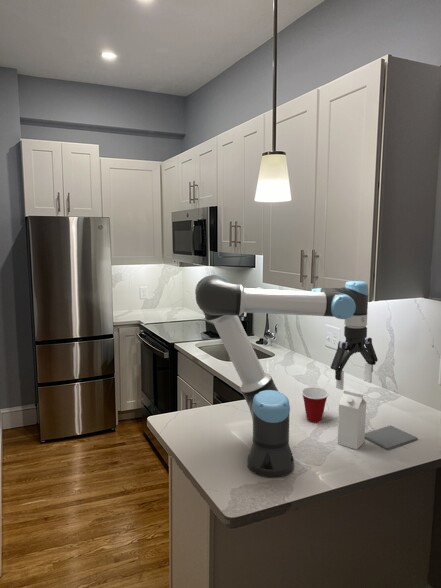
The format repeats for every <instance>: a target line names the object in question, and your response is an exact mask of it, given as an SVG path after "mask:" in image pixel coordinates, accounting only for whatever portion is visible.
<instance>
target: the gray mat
mask: <svg viewBox="0 0 441 588" xmlns="http://www.w3.org/2000/svg"><path fill="white" fill-rule="evenodd" d="M418 438H419V437H417V436H415V435H413V434H410V433H408V432H406V431H404V430H402V429H400V428H398V427H395V426H393V425H391V424H390V425H388V426H384V427H381V428H378V429H375V430H371V431H368V432H365V440H367V441H369V442H371V443H373V444H374V445H375V446H378V447H380V448H382V449H384V450H386V451H389V450H392V449H395V448H398V447H400V446H403V445H407V444H409V443H411V442H415V441H417V440H418Z"/></svg>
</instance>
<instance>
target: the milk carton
mask: <svg viewBox="0 0 441 588" xmlns="http://www.w3.org/2000/svg"><path fill="white" fill-rule="evenodd" d="M342 391H343V392H342V396H341V398H340V401H339V403H338V424H337V444H338V445H341V446H344V447H346V448H347V447H348V448H350V449H354V450H358V449H359V448H360V447H361V446H362V445H363V444H364V443H365V440H366V439H365V433H366V414H367V412H366V411H367V402H366V400H365V399H364V395H363V394H361V393H356V392H352V391H348V390H342Z"/></svg>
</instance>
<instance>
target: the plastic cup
mask: <svg viewBox="0 0 441 588" xmlns="http://www.w3.org/2000/svg"><path fill="white" fill-rule="evenodd" d="M300 392H301V395H302V399H303V404H304V411H305V416H306V420H307V421H308V422H310V423H313V424H314V423H315V424H316V423H320V422H322V420H323V415H324V413H325V412H324V410H325V406H326V402H327V398H328V396H329V395H330V393H329V391H328V390H327V389H325V388H322V387H319V386H307V387H304V388H303V389H302V390H301V391H300Z"/></svg>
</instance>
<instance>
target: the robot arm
mask: <svg viewBox="0 0 441 588" xmlns="http://www.w3.org/2000/svg"><path fill="white" fill-rule="evenodd" d="M194 295H195V301H196V305H197V307H198V308H199V310H201V312H202V313H203V314H204V317H205V319H206V320H207V322H209V323H212V324H213V325H214V327H215V329H216V332H217V334H218V335H219V338H220V341H221V342H222V344H223V346H224V348H225V350H226V352H227V354H228V357H229V359H230V361H231V363H232V364H233V367H234V368H235V372H236V373H237V375H238V377H239V379H240V382H241V386H240V391H241V394H242V396H243V398H244V400H245V402H246V404H247V406H248V409H249V412H250V415H251V418H252V443H251V446H250V450H249V453H248V455H247V457H246V460H247V463H246V465H247V466H246V467H247V469H249V471H250V472H252V473H253V474H255V475H257V476H259V477H265V478H270V479H271V478H282V477H286V476H288V475H289V474H291V473H292V472H293V471H294V468H295V459H294V456H293V452H292V450H291V447H290V412H291V405H290V399H289V398H288V396H287V395H286V394H285V393H283V392H280V391H279V389H278V387H277V386H276V384H275V382H274V380H273V378H272V376H271V374H269V373H266V372H265V370H264V369H263V366H262V365H261V362H260V359H259V358H258V356H257V353H256V351H255V350H254V348H253V346H252V343H251V341H250V338H249V336H248V334H247V333H246V331H245V329H244V326H243V324H242V321H241V320H240V317H239V316H241V315H242V314H243V313H244V314H245V313H247V314H271V315H273V314H274V315H292V316H293V315H294V316H312V317H313V316H314V317H317V316H318V317H331V318H336V319H339V320H344V331H343V336H344V337H345V341H338V343H337V348H336V352H335V354H334V357H333V359H332V362H331V365H330V369H331V370H334V371H335V373H334V374H335V375H334V377H335V378H334V379H335V380H336V382H335V384H336V385H335V388H336V389H338V390H340V391H344V381H345V380H344V379H345V378H344V377H345V371H344V370H343V369H344V368H345V366H346V364H347V362H348V361H349V359H350V357H351V356H353V355H354V354H356V353H360V354H361V357H363V359H364V361H365V363H364V373H363V374H364V375H363V378H364V379H363V380H364V382H366V383H368V384H371V383H372V381H373V380H372V377H373V374H372V373H373V371H374V370H373V369H374V366H375V365H377V362H378V360H379V359H378V357H377V353H376V351H375V348H374V345H373V339H372V337H368V327H367V326H368V308H369V307H368V306H369V305H368V304H369V284H368V283H367V282H366V281H363V280H352V281H351V280H350V281H346V282H345V285H344V287H317V288H312V289H311V291H304V290H286V289H268V288H267V289H266V288H265V289H264V288H251V287H250V288H247V287H244V286H243V285H242V284H238V283H237V284H236V283H235V284H234V283H229V282H228V281H227V280H226V279H225V278H224V277H222V276H220V275H217V274H210V275H206V276H204V277H203V278H201V279H200V280H199V281H198V282H197V284H196V287H195V293H194Z"/></svg>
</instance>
